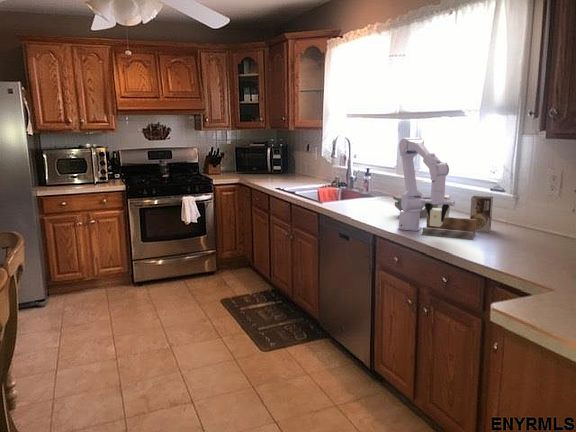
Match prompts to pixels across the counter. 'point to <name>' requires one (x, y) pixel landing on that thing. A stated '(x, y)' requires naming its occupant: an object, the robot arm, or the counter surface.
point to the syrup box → (442, 205)
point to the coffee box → (482, 212)
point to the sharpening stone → (398, 204)
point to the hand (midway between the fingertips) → (436, 220)
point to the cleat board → (452, 228)
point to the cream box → (435, 217)
